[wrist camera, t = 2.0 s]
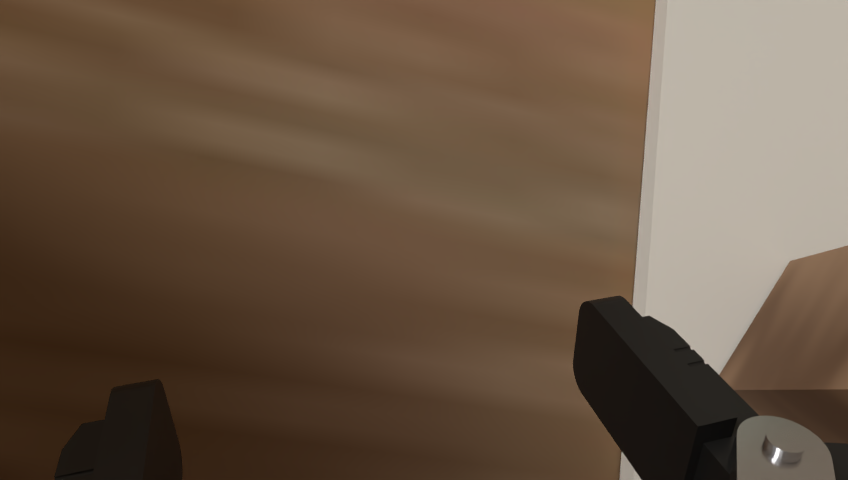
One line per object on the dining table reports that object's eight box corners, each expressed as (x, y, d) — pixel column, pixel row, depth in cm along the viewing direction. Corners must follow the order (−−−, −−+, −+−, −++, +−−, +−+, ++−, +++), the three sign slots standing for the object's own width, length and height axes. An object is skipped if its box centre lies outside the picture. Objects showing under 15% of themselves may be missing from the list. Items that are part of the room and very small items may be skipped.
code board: (618, 488, 18) (634, 492, 18) (669, -183, 24) (683, -204, 24) (952, 539, 20) (981, 546, 19) (922, -104, 26) (943, -121, 25)
